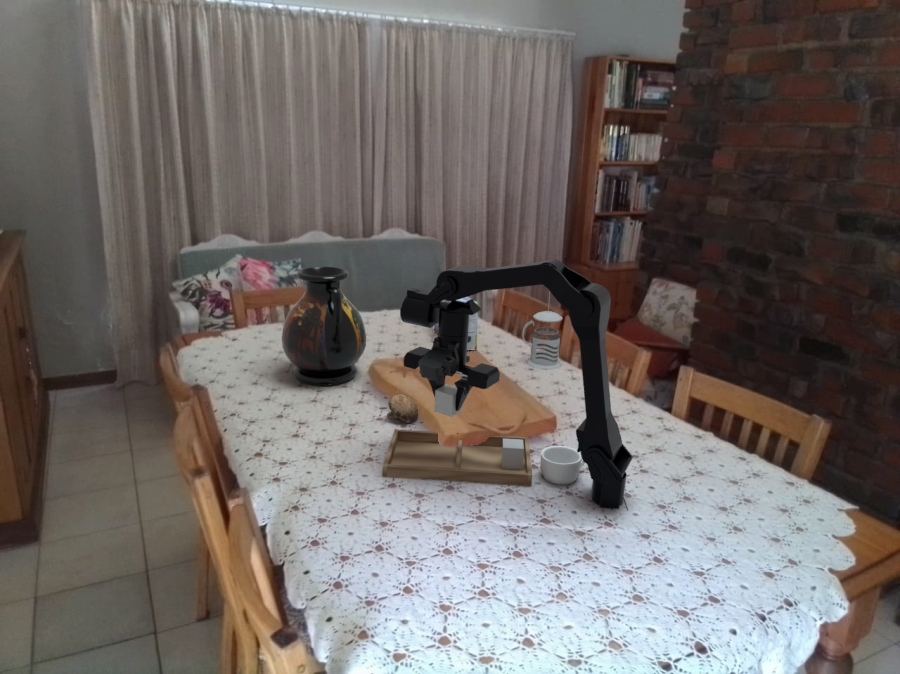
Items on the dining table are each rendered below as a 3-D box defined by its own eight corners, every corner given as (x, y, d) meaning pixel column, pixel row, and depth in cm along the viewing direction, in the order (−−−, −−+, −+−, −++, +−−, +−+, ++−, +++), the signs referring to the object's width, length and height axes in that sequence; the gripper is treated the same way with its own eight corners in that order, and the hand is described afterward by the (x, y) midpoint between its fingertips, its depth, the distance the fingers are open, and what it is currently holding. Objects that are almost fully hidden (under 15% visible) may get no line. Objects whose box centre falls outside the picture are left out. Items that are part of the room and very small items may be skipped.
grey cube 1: (462, 410, 135) (463, 389, 134) (451, 416, 132) (452, 395, 130) (445, 404, 137) (446, 384, 136) (434, 411, 134) (435, 390, 132)
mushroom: (373, 408, 152) (390, 387, 151) (391, 409, 160) (408, 390, 158) (395, 433, 149) (413, 412, 148) (412, 433, 156) (430, 413, 155)
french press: (563, 370, 189) (571, 282, 182) (522, 368, 190) (528, 280, 182) (559, 358, 199) (566, 274, 191) (519, 356, 199) (525, 272, 191)
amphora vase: (380, 382, 176) (380, 276, 168) (300, 397, 165) (296, 284, 157) (346, 357, 194) (345, 260, 185) (272, 369, 183) (267, 266, 174)
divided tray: (531, 489, 127) (532, 475, 126) (382, 480, 129) (382, 466, 128) (527, 450, 143) (528, 437, 142) (394, 442, 144) (394, 429, 143)
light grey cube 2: (522, 469, 133) (523, 448, 131) (501, 468, 133) (503, 447, 132) (521, 459, 137) (523, 439, 135) (501, 458, 137) (502, 438, 136)
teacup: (554, 493, 126) (556, 467, 125) (530, 474, 133) (532, 450, 131) (596, 482, 131) (599, 457, 129) (572, 464, 137) (574, 440, 136)
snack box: (432, 332, 219) (433, 286, 214) (448, 330, 221) (449, 285, 217) (461, 352, 201) (463, 303, 196) (478, 350, 203) (480, 301, 199)
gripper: (388, 331, 127) (385, 408, 132) (474, 354, 118) (468, 435, 123) (421, 318, 136) (418, 390, 141) (504, 339, 127) (497, 415, 132)
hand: (448, 407), depth 134 cm, fingers closed on grey cube 1, 4 cm apart
